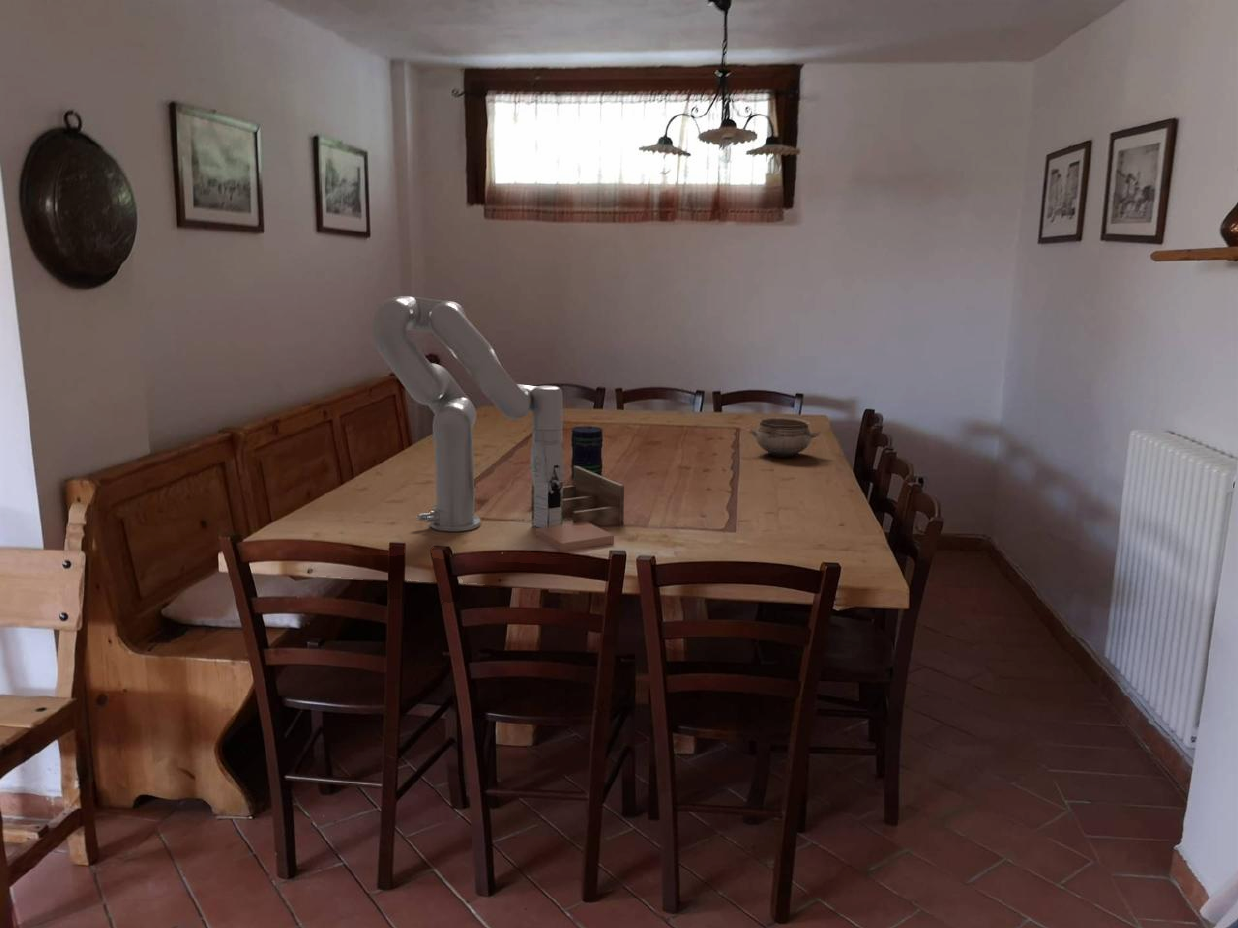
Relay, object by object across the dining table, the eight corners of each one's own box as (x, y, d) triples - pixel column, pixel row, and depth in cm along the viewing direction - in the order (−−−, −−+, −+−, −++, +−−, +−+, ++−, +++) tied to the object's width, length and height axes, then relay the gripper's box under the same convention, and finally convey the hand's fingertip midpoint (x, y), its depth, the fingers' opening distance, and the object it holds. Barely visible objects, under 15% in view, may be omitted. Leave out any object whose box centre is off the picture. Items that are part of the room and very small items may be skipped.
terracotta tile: (562, 551, 220) (562, 543, 219) (536, 536, 231) (536, 528, 231) (613, 543, 227) (614, 535, 226) (586, 528, 238) (586, 521, 238)
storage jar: (598, 480, 289) (599, 433, 286) (567, 478, 291) (567, 431, 288) (605, 473, 299) (606, 427, 296) (575, 471, 301) (575, 425, 298)
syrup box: (546, 521, 244) (546, 466, 241) (563, 525, 241) (563, 470, 238) (531, 525, 240) (530, 470, 237) (548, 530, 236) (547, 474, 233)
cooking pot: (815, 451, 339) (817, 418, 336) (821, 462, 320) (823, 427, 318) (745, 449, 341) (747, 415, 338) (747, 459, 323) (748, 424, 320)
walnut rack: (575, 529, 237) (575, 491, 235) (531, 506, 259) (531, 470, 256) (623, 522, 244) (624, 485, 242) (577, 500, 266) (577, 465, 263)
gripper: (519, 431, 241) (519, 498, 245) (549, 442, 226) (549, 514, 230) (545, 428, 245) (545, 494, 248) (576, 440, 230) (576, 510, 234)
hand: (547, 503), depth 239 cm, fingers closed on syrup box, 7 cm apart
